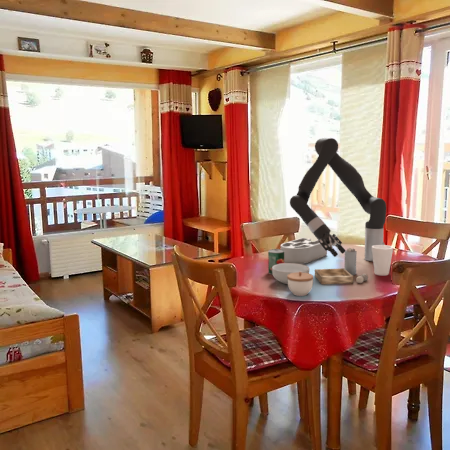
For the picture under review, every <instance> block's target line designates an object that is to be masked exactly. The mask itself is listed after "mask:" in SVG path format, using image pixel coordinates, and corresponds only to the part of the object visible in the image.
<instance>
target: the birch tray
mask: <svg viewBox="0 0 450 450" xmlns="http://www.w3.org/2000/svg"><path fill="white" fill-rule="evenodd" d="M314 277H315V278H316V279H317V280H318V282H319V283H320V284H321V285H341V284H342V285H343V284H345V285H346V284H354V275H351V274H350V273H349V272H348V271H347V270H345V269H344V268H343V267H342V268H317V269H315V268H314Z"/></svg>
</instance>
